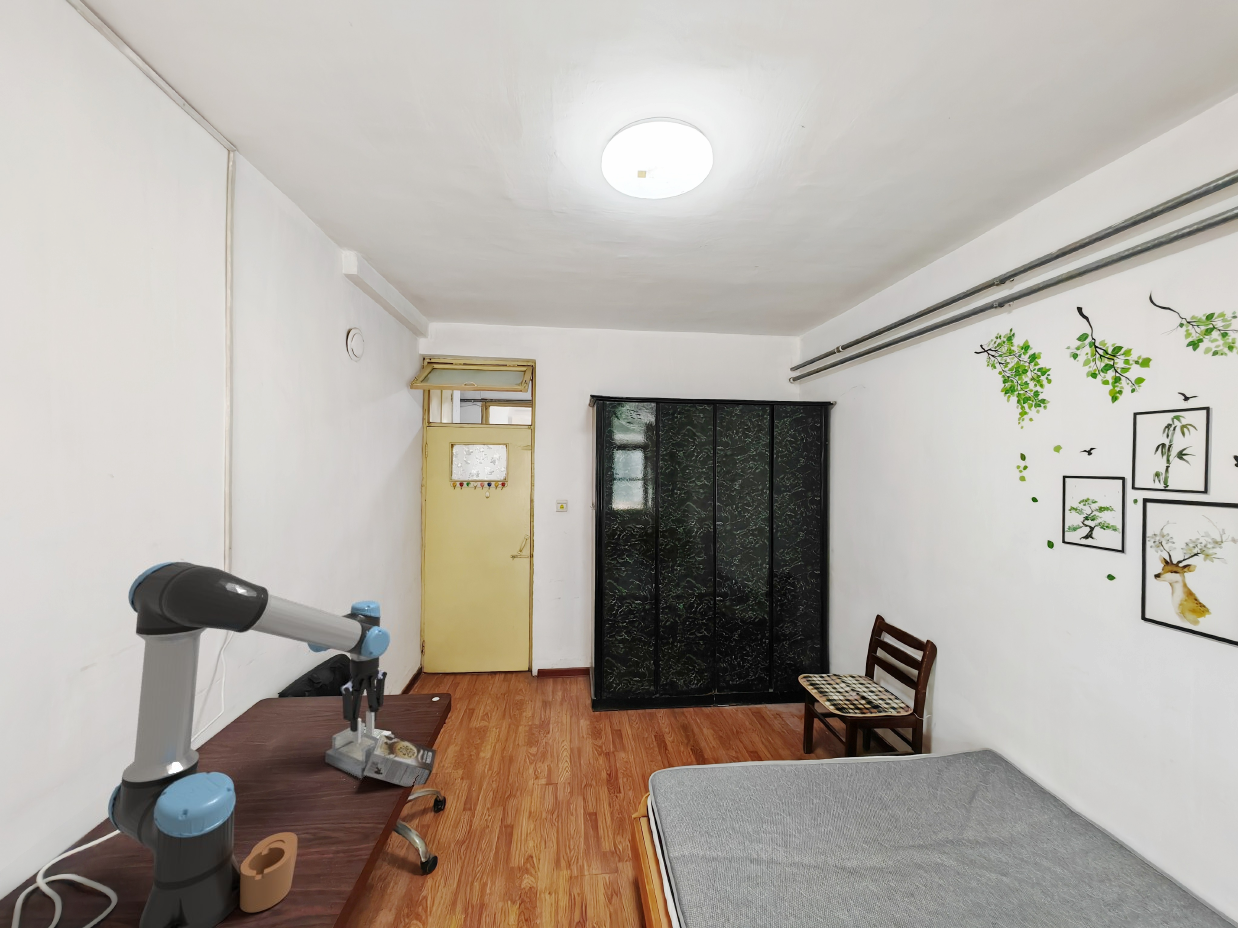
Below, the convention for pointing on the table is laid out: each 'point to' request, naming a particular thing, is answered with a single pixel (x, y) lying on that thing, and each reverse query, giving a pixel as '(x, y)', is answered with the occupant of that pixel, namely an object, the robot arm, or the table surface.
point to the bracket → (268, 872)
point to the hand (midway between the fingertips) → (363, 737)
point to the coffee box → (400, 762)
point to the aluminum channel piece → (351, 751)
